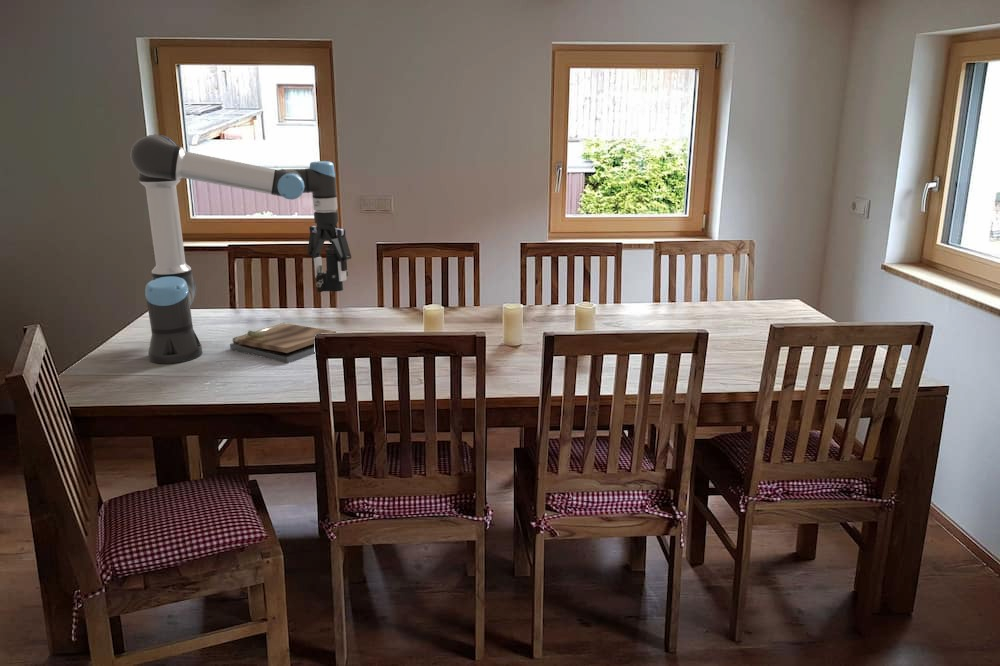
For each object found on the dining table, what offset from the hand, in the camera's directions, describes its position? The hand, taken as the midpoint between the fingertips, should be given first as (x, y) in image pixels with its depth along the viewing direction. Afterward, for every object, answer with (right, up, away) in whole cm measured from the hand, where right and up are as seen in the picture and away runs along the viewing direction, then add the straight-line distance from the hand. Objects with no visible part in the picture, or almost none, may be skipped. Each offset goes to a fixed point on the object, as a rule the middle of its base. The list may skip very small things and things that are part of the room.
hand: (330, 278), depth 261 cm
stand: (-11, -22, -12) cm, 27 cm away
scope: (+1, -4, +1) cm, 4 cm away
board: (-11, -20, -13) cm, 26 cm away
